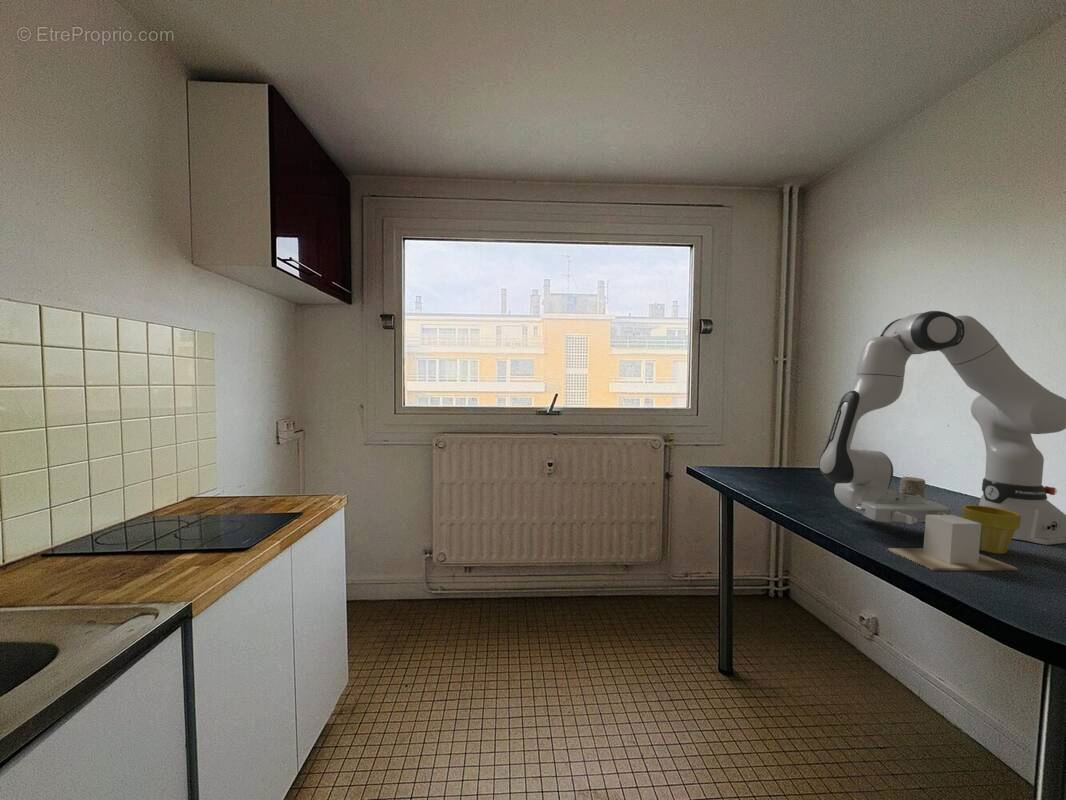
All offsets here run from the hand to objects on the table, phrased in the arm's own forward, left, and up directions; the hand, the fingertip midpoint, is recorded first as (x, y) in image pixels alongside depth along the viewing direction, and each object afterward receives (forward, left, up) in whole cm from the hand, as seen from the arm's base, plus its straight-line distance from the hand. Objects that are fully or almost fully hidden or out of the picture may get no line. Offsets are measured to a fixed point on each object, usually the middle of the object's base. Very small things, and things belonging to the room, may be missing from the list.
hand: (932, 521), depth 116 cm
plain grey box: (0, +5, -7) cm, 9 cm away
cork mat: (0, +5, -7) cm, 9 cm away
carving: (-20, -28, -8) cm, 35 cm away
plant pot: (-17, -2, -8) cm, 19 cm away
